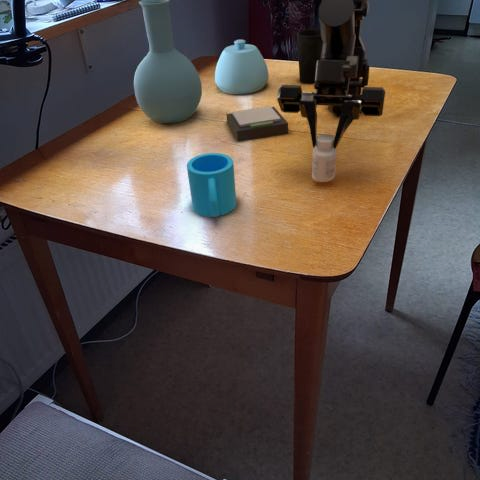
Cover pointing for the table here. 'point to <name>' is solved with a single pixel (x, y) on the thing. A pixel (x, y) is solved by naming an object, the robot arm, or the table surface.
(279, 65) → the table surface
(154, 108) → the vase
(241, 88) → the sugar bowl
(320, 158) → the pill bottle
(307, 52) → the cup
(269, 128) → the scale
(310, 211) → the table surface
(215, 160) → the mug
